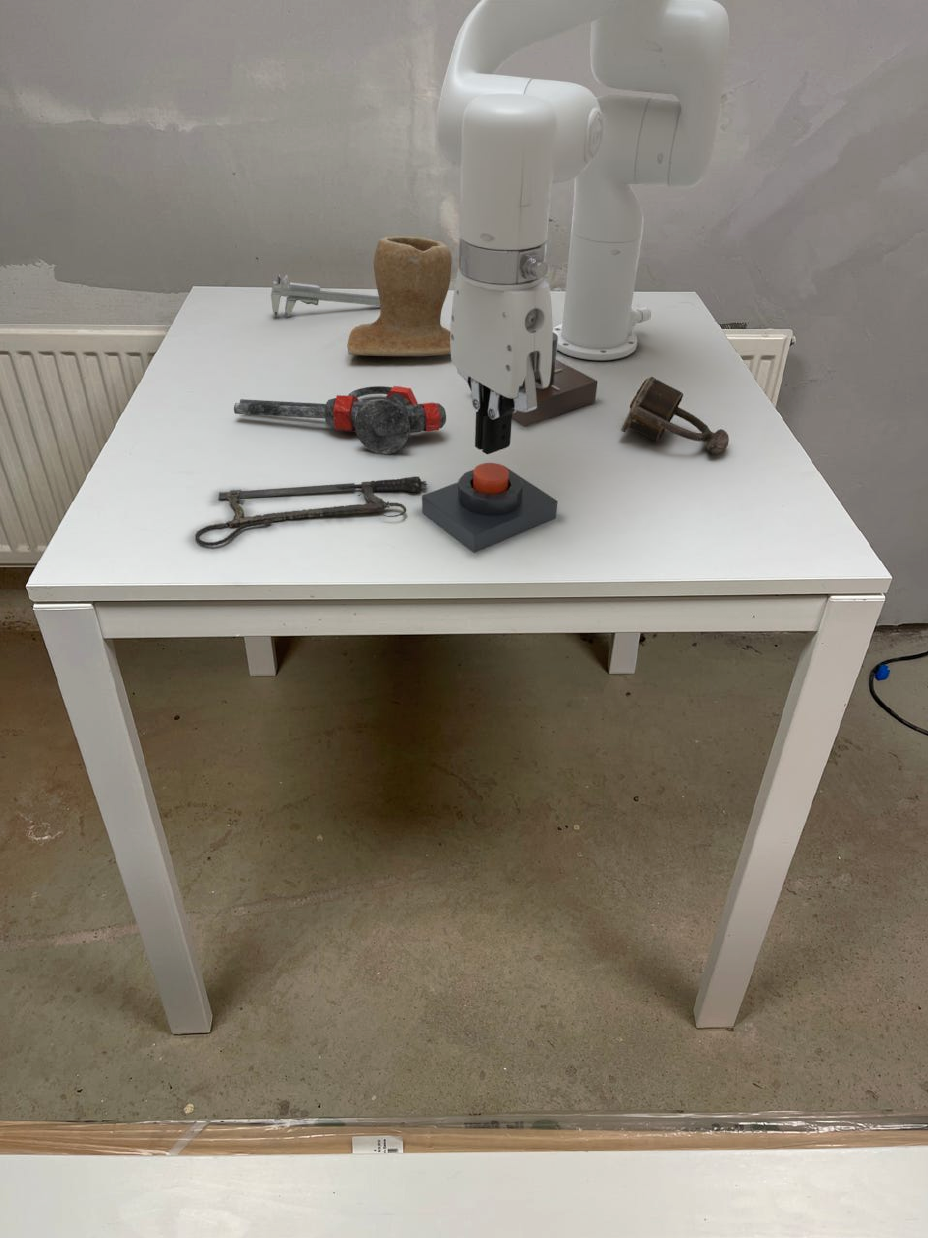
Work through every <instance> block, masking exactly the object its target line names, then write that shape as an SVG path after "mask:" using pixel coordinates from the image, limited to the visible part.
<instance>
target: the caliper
mask: <svg viewBox="0 0 928 1238" xmlns="http://www.w3.org/2000/svg"><path fill="white" fill-rule="evenodd" d="M281 297H285V298H286V301H285V307H284V310H285V312H284V316H285V318H286V319H288V318H289V317H290V316H291V314H292V312H293V309H294V307H295V305H296V303H297V302H298V301H300V302H302V303H303V304H306V305H314V306H318V305H319V301H327V302H334V303H335V302H336V303H348V304H358V305H366V306H377V307H380V300H379V295H378V293H370V292H369V293H368V292H359V291H349V290H338V289H328V288H321V287H320V285H316V284H310V283H309V284H307V283H300V282H291V281H290V282H289V276H288V274H286V275H285V276H284V277H283V279H282V277H281V275H280V273H278V274H277V281H275V280H274V281H272V287H271V292H270V299H271V307H272V313H273V316H274V317H278V316H279V309H280V302H281Z"/></svg>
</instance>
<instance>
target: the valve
mask: <svg viewBox="0 0 928 1238" xmlns="http://www.w3.org/2000/svg"><path fill="white" fill-rule="evenodd" d="M368 395H386V396H385V398H375V399H371V400H368V399H367V400H364V399H359V398H360V397H364V396H368ZM233 413H234V414H235V415H251V416H252V415H253V416H269V417H271V416H272V417H287V418H307V419H324V421H325V424H326V425H327V427H330V428H333V429H335V430H337V431H339V432H351V433H352V432H353V433H356V436H357V439H358V440H359V441H360V443H361V445H363V446H364V447H365V448H366V449H367V450H369V451H371V452H373V453H375V454H378V455H391V454H394V453H397V452H398V451H399V450H402V448H403V447H404V446H405V445H406V443H407V441H408V439H409V437H410V434H414V433H421V432H426V433H427V432H435V431H440V430H441V429H442V428H443V427H444V426H445V425H446V422H447V412H446V409H445V407H444V406H443V405H441V404H440V403H439V402H425V403H419V402H418V400H417V399H416V396H415V394H414V392H413V390H412V388H411V387H406V386H398V385H393V386H385V385H384V386H381V385H380V386H379V385H377V386H376V385H374V386H365V387H361V388H358V389H355V390H353V391H351V392H349V394H347V395H343V394H342V395H335V397H334V398H329V399H328V400H327V401H326V402H325V403H315V402H298V401H297V402H296V401H284V400H283V401H282V400H281V401H278V400H263V399H261V400H260V399H244V398H240V400H239V402H235V403H234V405H233Z"/></svg>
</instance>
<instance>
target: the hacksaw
mask: <svg viewBox="0 0 928 1238" xmlns="http://www.w3.org/2000/svg"><path fill="white" fill-rule="evenodd" d="M427 486H428V483H427V480H423V481H422V478H420V476H410V477H409V476H408V477H402V478H392V479H381V480H380V479H379V480H371V481H362V482H361V483H358V484H357V483H356V484H355V482H351V483H349V482H348V483H340V484H339V483H335V484H323V485H309V486H306V485H305V486H296V487H295V486H294V487H281V488H279V487H278V488H265V489H251V490H242V489H233V490H230V491H225V492H218V498H217V499H218V500H219V501H222V500H228V501H229V505H230V506H231V508H232V510H234V515H233V518H232V520H228V521H225V523H223V522H220V523H217V524H216V523H215V524H210V525H206V526H204V527H203V528H201V529H199V530H197V531H196V533H195V536H194V538H195V540H196V542H197V543H198V544H200V545H203V546H206V547H213V546H215V547H216V546H219V545H223V544H225V543H227V542H228V541H230V540H231V539H232V538H233V537H235V536H236V535H237V534H238V533H239V532H240V531H242V530H245V529H246V528H251V527H257V526H262V525H263V526H270V525H271V524H273V523H274V522H278V521H286V520H294V519H297V520H298V519H304V518H316V517H317V518H318V517H324V516H338V515H350V514H351V515H352V514H365V513H366V514H367V513H376V512H377V513H378V515H379V516H383V517H388V518H395V517H399V516H403V515H404V514H405V513H406V512H407V507H406V506H405V505H404V504H402V503H399V502H389V501H387V502H386V501H385V500H383V498H379V497H378V496H376V495H375V493H374V492H386V491H387V492H388V491H391V492H393V491H406V492H409V493H415V492H416V493H418V492H421V490H422V488H426V487H427ZM357 489H359V490H361V491H362V493H360V494H358V495H357V496H358V497H360V496H361V495H363V494H364V497H365V499H366V501H368V502H367V503H362V504H360V503H358V504H349V505H347V504H346V505H337V506H336V505H334V506H330V507H329V506H328V507H327V506H325V507H319V508H308V509H302V510H299V509H298V510H291V511H281V512H272V513H271V512H270V513H264V514H263V515H262V514H259V515H254V516H245V510H244V509H243V507H242V506H241V505H240V504H239V502H240V503H243V502H246V500H245V499H249V498H263V497H277V496H290V495H291V496H293V495H307V494H318V493H332V492H333V493H334V492H347V491H356V490H357ZM242 499H244V500H242ZM391 507H399V508H401V509H402V510H403V511H402V512H401V513H400V514H394V515H385V514H382V513H380V512H382V511H383V510H385V509H387V508H388V509H390V508H391ZM224 527H229V528H231V529H232V528H236V529H235V530H233V531H232V532H231V533H230V534H229V535H228V536H226V537H224V538H223V539H220V540H217V541H213V542H212V541H209V542H208V541H204V540H202V539H201V538H200V535H202V533H205V532H206V531H209V530H212V529H217V528H218V529H221V528H224ZM237 527H238V528H237Z"/></svg>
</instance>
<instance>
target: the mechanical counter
mask: <svg viewBox="0 0 928 1238" xmlns="http://www.w3.org/2000/svg"><path fill="white" fill-rule="evenodd" d="M683 397H684V392H682V391H680V390H678V389H676V388H674V387H672V386H670V385H668V384H667V383H664V382H662V381H660V380H659V379H657V378H656V377H654V376H650V377H648V378H646V379H645V380H644V381H643V382H642V383H641V385H640V387H639V388H638V389H637V391H636V394H635V395H634V397H633V399H632V400H631V402H630V405H629V412H628V414H627V417H625V420H624V422H623V424H622V426H621V428H620V432H622V433H625V432H627V430H629V429H631V430H634V431H636V432H637V433H639V434H641V435H643V436H645V437H647V438H649V439H650V440H653V441H655V442H659V441H660V439H661V438H662V436H663V434H664V433H665V431H667V432H669V433H670V434H674V435H675V436H679V437H681V438H684V439H687V440H691V441H695V442H703V443H706V444H707V451H708V452H710V454H712V455H716V454H720V453H721V452H723V451H725V450H726V449H727V447H728V446H729V441H730V438H729V434H728V432H727V431H725V429H722V428H720V429H718V430H717V431H715V432H713V431H711V430H710V428H709V426H708V425H707V424H706V423H704V422H703V421H702V420H700V418H698V417H697V416H695V415H694V414H692V413H690V412H688V411H686V410H685V409H683V408H681V407H679V406H680V404H681V402H682V400H683ZM674 416H676V417H678V418H680V419H683V420H684V421H686V422H688V423H689V424H690V425H692V426H693V427H695V428H696V429H697V430H698V431H699V432H695V431H691V430H689V429H686V428H684V427H681V426H680V425H677V424H675V423H672V422H671V421H672V420H673V418H674Z"/></svg>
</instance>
